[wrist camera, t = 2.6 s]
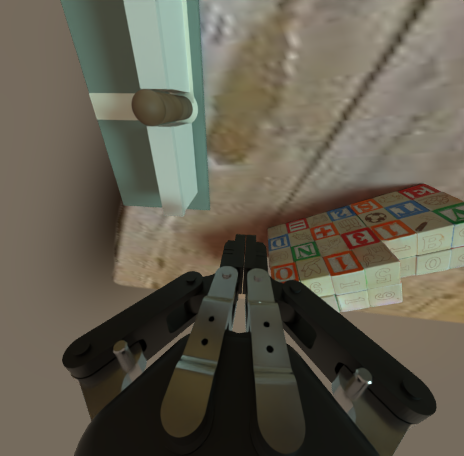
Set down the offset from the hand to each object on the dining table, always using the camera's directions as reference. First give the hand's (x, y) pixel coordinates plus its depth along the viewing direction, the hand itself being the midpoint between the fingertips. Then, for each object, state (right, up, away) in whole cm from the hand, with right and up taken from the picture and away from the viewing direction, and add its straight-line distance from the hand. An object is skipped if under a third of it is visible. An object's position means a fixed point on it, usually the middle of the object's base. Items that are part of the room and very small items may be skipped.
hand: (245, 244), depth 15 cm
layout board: (-11, +16, +9) cm, 22 cm away
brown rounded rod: (-7, +16, +9) cm, 19 cm away
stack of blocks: (+16, +2, +15) cm, 22 cm away
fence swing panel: (-7, +10, +12) cm, 17 cm away
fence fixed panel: (-7, +21, +6) cm, 23 cm away
